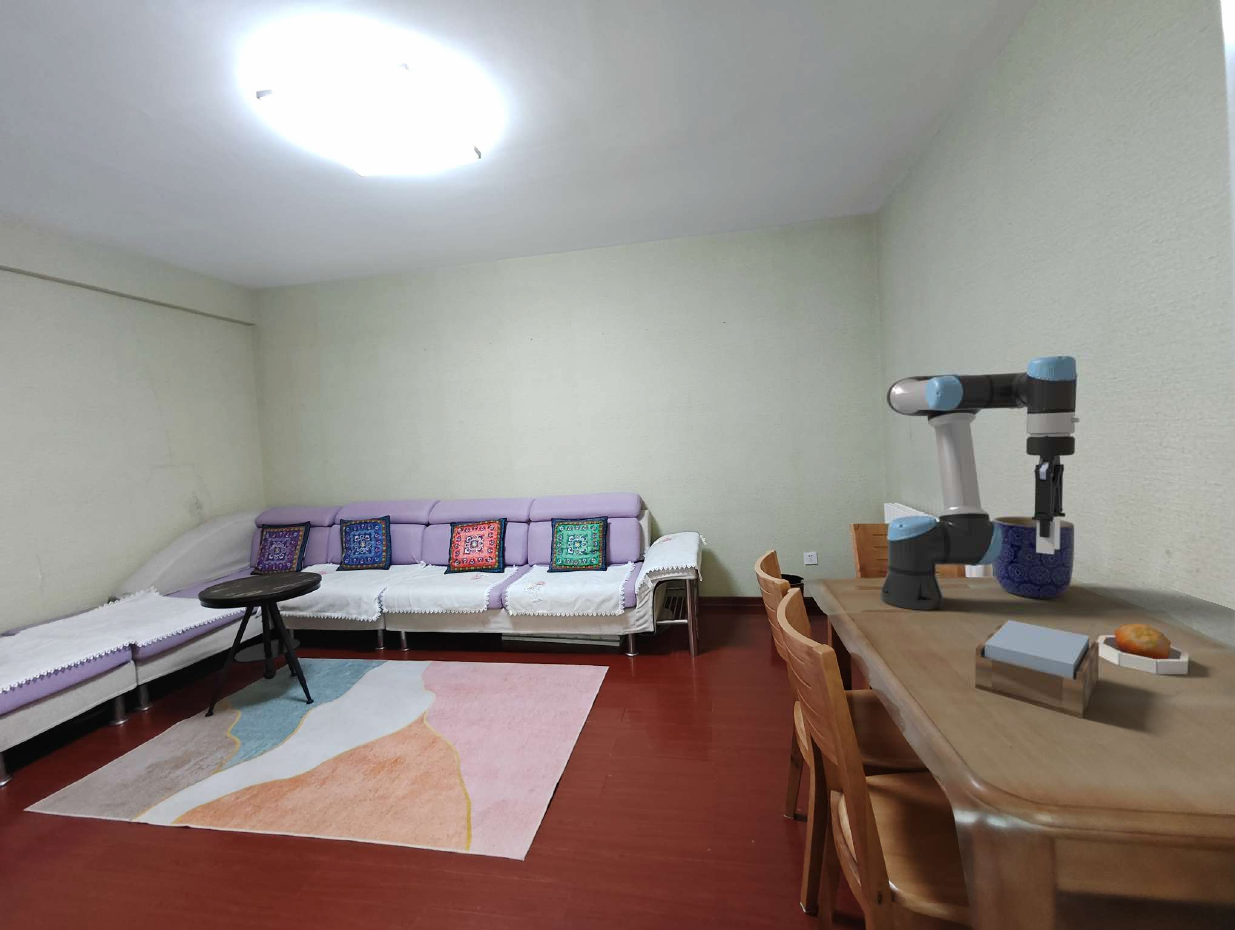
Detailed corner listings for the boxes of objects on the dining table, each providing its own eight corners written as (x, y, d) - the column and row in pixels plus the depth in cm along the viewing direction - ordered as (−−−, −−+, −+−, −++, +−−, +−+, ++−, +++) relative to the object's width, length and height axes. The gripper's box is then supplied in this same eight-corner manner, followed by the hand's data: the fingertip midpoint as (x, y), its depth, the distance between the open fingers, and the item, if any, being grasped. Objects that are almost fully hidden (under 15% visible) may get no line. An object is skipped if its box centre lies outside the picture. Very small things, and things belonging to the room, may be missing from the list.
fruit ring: (1093, 659, 108) (1093, 647, 108) (1102, 641, 117) (1102, 630, 117) (1186, 680, 99) (1186, 667, 98) (1188, 659, 107) (1189, 647, 107)
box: (1001, 658, 110) (1001, 622, 110) (1097, 681, 99) (1098, 642, 99) (975, 687, 98) (975, 647, 98) (1081, 718, 87) (1082, 673, 87)
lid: (1008, 632, 109) (1008, 620, 109) (1089, 649, 99) (1089, 636, 99) (984, 657, 97) (984, 643, 97) (1072, 679, 88) (1073, 664, 88)
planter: (1091, 602, 142) (1093, 526, 141) (1022, 604, 143) (1023, 527, 141) (1037, 582, 161) (1039, 515, 159) (976, 584, 161) (977, 517, 160)
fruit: (1148, 643, 112) (1161, 618, 108) (1168, 676, 106) (1184, 651, 101) (1100, 639, 115) (1112, 615, 110) (1117, 672, 108) (1130, 647, 104)
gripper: (1066, 436, 97) (1063, 561, 99) (1082, 433, 109) (1079, 545, 111) (1016, 436, 103) (1014, 555, 104) (1036, 434, 115) (1034, 541, 116)
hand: (1048, 550), depth 107 cm, fingers open, 5 cm apart
